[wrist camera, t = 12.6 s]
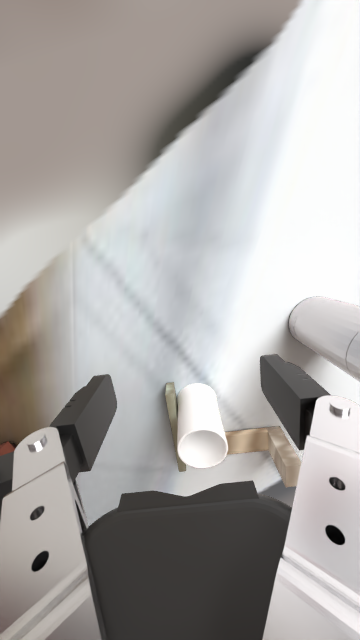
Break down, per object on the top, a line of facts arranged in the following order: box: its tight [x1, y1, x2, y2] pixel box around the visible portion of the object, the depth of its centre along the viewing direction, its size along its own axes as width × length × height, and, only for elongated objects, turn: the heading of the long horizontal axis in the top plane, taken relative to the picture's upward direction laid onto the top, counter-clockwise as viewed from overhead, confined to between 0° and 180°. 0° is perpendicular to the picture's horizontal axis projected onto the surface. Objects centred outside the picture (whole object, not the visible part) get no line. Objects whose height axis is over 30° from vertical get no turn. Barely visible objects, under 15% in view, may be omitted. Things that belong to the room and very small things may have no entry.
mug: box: [177, 383, 228, 469], centre depth 39 cm, size 12×8×12 cm
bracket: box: [165, 382, 301, 487], centre depth 40 cm, size 23×19×9 cm
